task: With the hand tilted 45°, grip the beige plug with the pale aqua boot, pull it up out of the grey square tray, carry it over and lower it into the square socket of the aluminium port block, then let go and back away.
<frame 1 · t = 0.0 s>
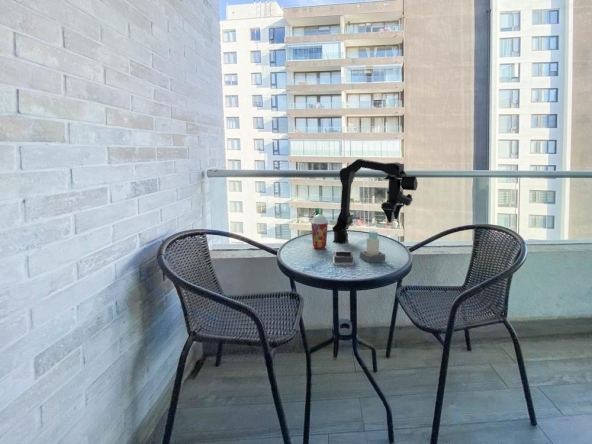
hand: (393, 220, 200), 15 cm above the table, tool pointing down, fingers open, 9 cm apart
smoothie: (319, 248, 207), on the table
plug: (372, 245, 187), in the grey square tray
grey square tray: (372, 259, 188), on the table
port: (343, 261, 185), on the table
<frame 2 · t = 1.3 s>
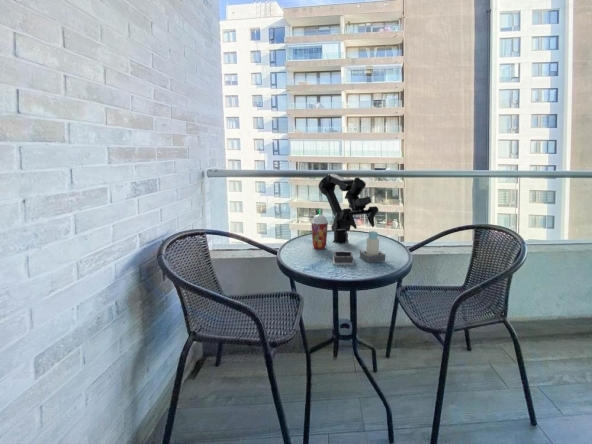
hand: (364, 227, 192), 13 cm above the table, tool tilted 45°, fingers open, 9 cm apart
nothing on the table moved.
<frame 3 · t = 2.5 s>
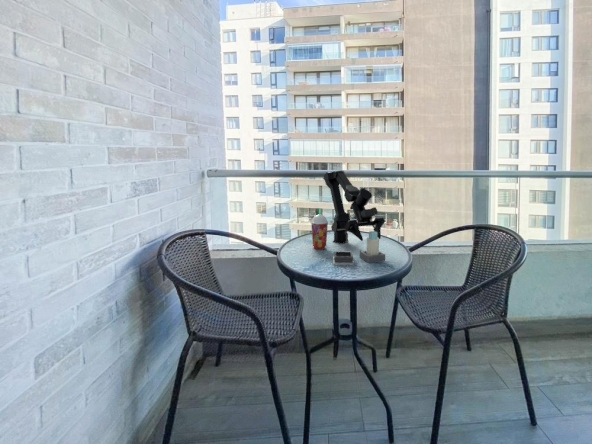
hand: (371, 239, 188), 9 cm above the table, tool tilted 45°, fingers open, 9 cm apart
nothing on the table moved.
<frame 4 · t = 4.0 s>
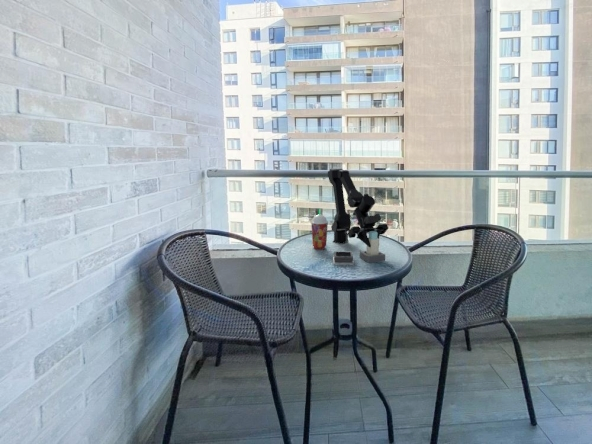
hand: (374, 246, 185), 7 cm above the table, tool tilted 45°, fingers closed on plug, 4 cm apart
plug: (372, 245, 187), in the grey square tray, touching gripper
everything else where it was.
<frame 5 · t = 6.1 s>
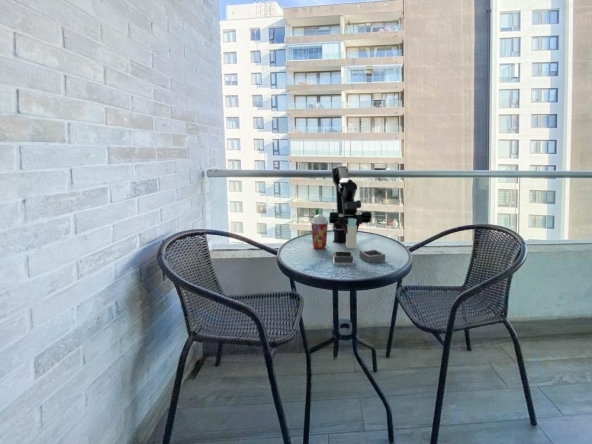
hand: (351, 233, 181), 14 cm above the table, tool tilted 45°, fingers closed on plug, 4 cm apart
plug: (351, 232, 182), point 14 cm above the table, touching gripper
everything else where it was.
when the fingers open (9 cm above the table, at t = 8.1 s): plug drops 1 cm, resting on port.
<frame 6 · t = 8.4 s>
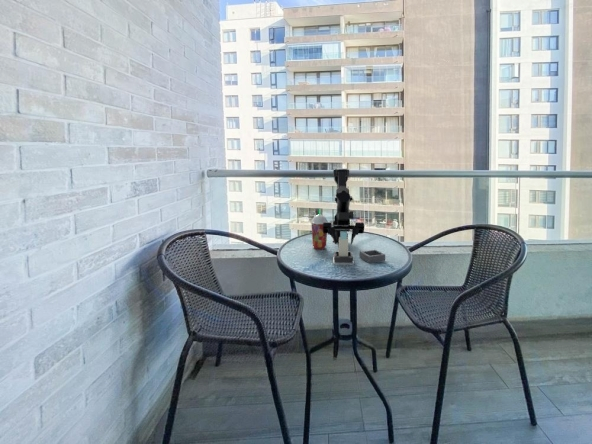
hand: (343, 243, 182), 9 cm above the table, tool tilted 45°, fingers open, 7 cm apart
plug: (343, 245, 183), in the port, point 8 cm above the table
everything else where it was.
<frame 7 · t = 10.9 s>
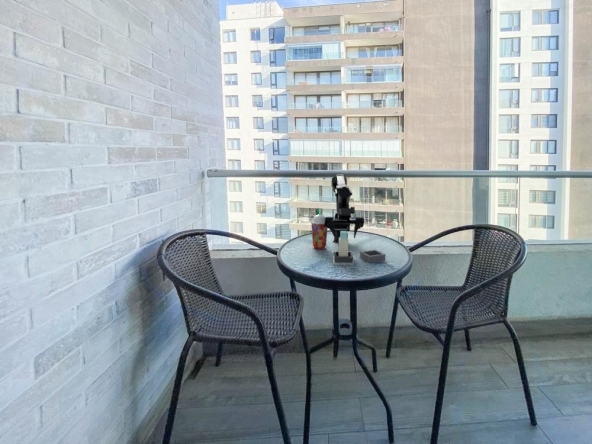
hand: (344, 237, 192), 9 cm above the table, tool tilted 40°, fingers open, 9 cm apart
nothing on the table moved.
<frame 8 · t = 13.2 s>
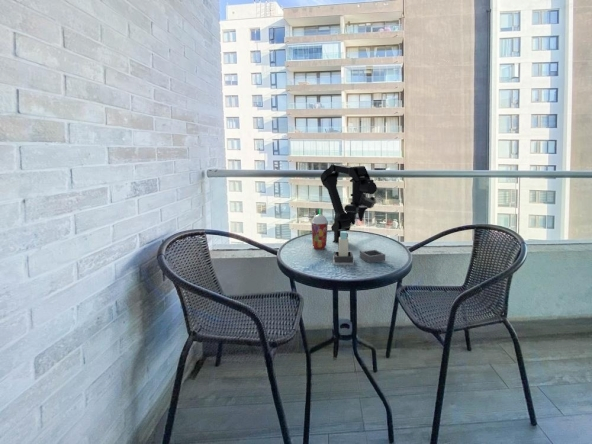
hand: (357, 222, 204), 13 cm above the table, tool pointing down, fingers open, 9 cm apart
nothing on the table moved.
at the end: plug 0.0 cm off-centre on the port, point 7.5 cm above the port's base; plug tilted 0°; the gripper is holding nothing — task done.
